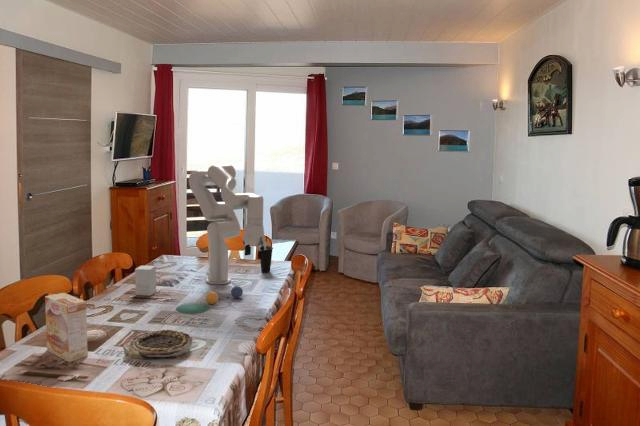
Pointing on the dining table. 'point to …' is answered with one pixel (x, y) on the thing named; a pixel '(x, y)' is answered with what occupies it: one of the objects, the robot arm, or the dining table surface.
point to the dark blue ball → (236, 292)
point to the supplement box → (145, 280)
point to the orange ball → (212, 297)
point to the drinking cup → (266, 259)
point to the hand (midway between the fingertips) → (254, 256)
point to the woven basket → (158, 345)
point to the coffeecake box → (66, 326)
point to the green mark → (192, 308)
